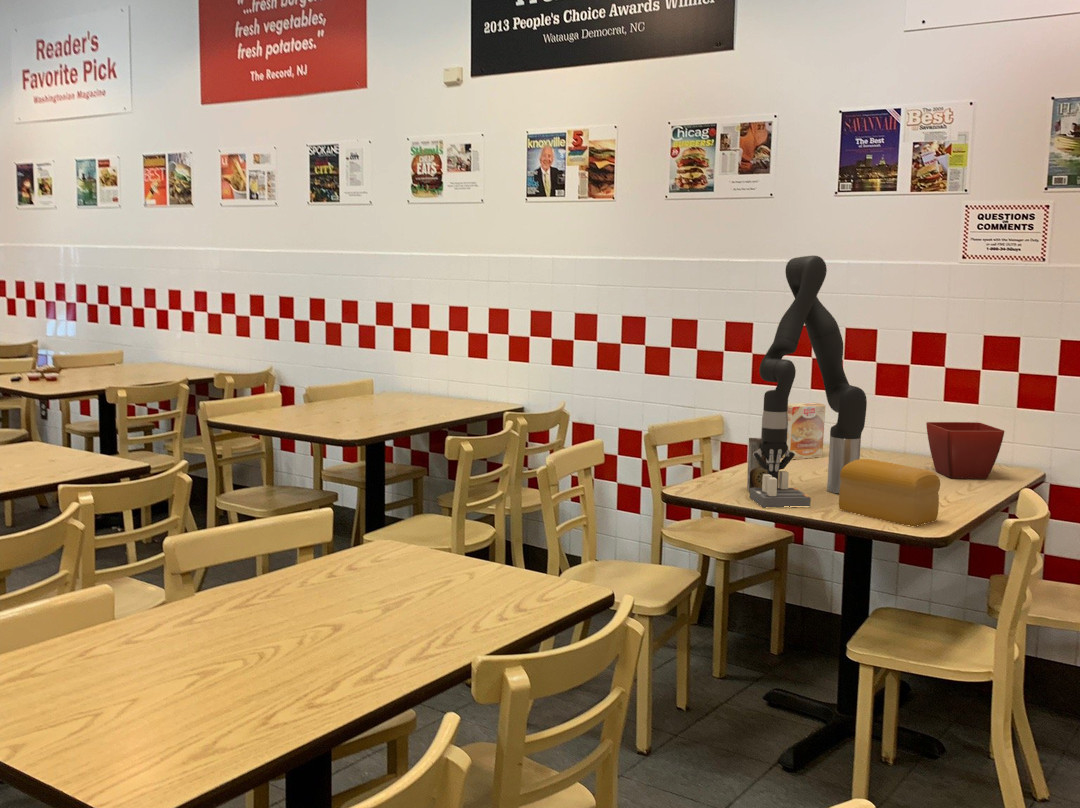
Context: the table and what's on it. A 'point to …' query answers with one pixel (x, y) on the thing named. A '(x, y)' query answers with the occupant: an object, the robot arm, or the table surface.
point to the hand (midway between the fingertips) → (771, 482)
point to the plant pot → (964, 448)
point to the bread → (889, 492)
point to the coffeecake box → (805, 430)
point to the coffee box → (755, 466)
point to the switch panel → (780, 498)
